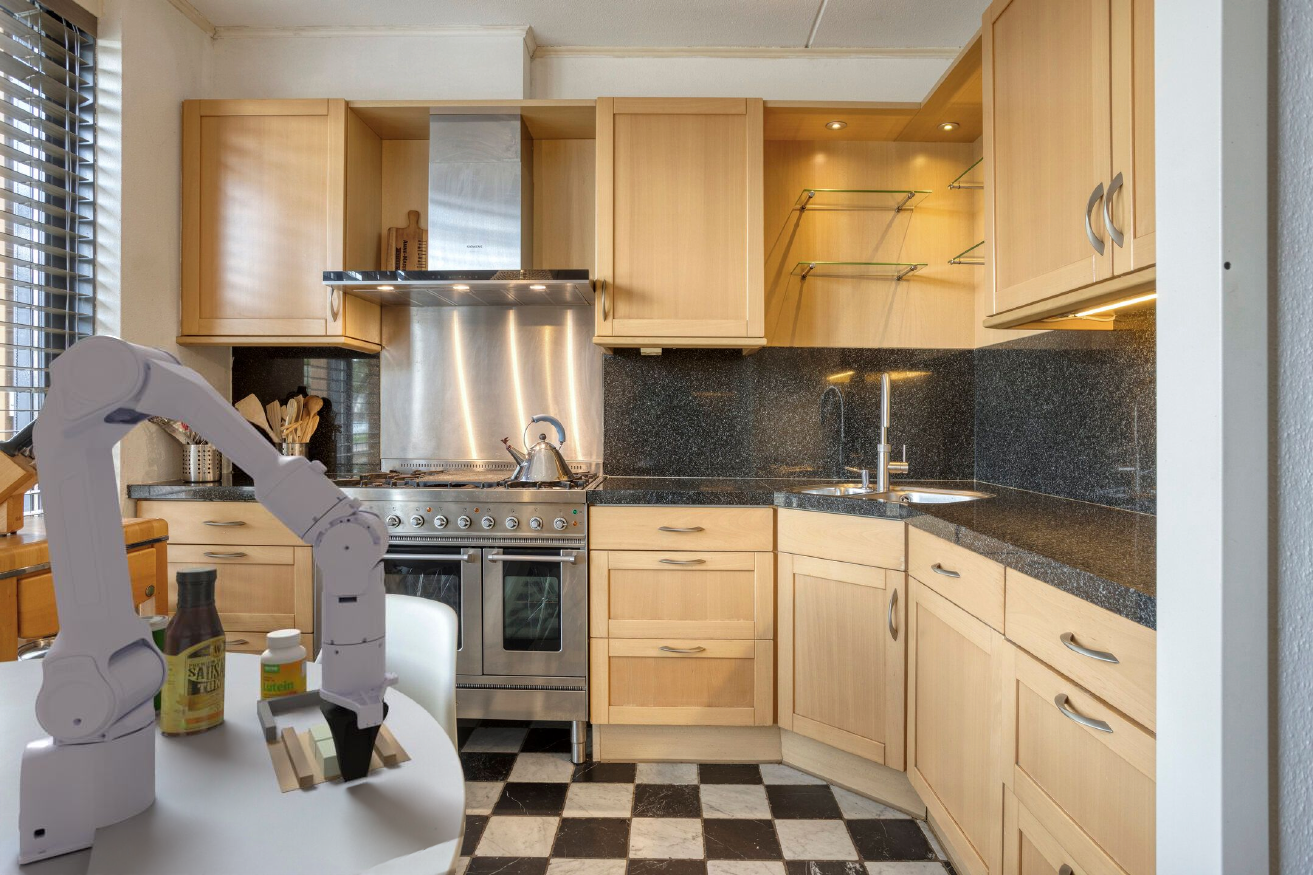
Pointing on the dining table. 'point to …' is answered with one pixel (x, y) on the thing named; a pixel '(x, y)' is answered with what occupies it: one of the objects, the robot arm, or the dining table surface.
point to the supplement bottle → (283, 665)
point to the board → (301, 767)
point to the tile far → (318, 735)
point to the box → (283, 708)
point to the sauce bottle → (194, 658)
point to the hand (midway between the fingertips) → (354, 777)
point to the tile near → (327, 758)
